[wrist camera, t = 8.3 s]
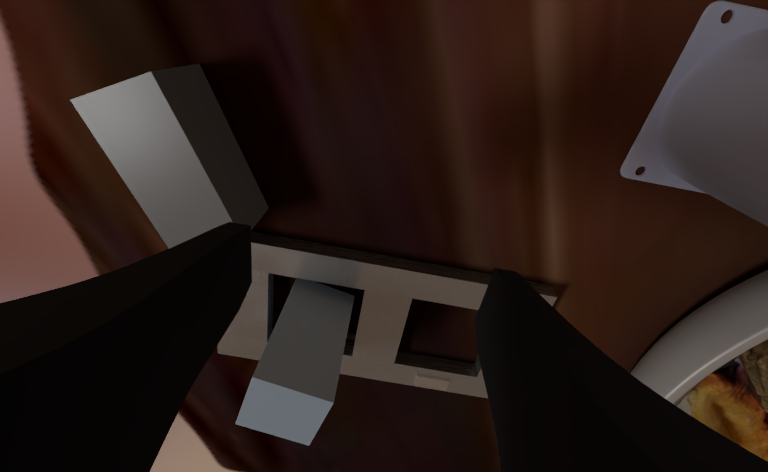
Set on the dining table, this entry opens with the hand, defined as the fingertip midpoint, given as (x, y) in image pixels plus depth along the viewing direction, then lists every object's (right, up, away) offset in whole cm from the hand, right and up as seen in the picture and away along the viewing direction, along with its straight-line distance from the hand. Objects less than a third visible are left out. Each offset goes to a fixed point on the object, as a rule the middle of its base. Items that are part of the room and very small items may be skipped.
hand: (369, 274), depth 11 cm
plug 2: (-4, -4, +14) cm, 15 cm away
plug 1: (-9, +6, +9) cm, 14 cm away
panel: (0, -4, +14) cm, 15 cm away
